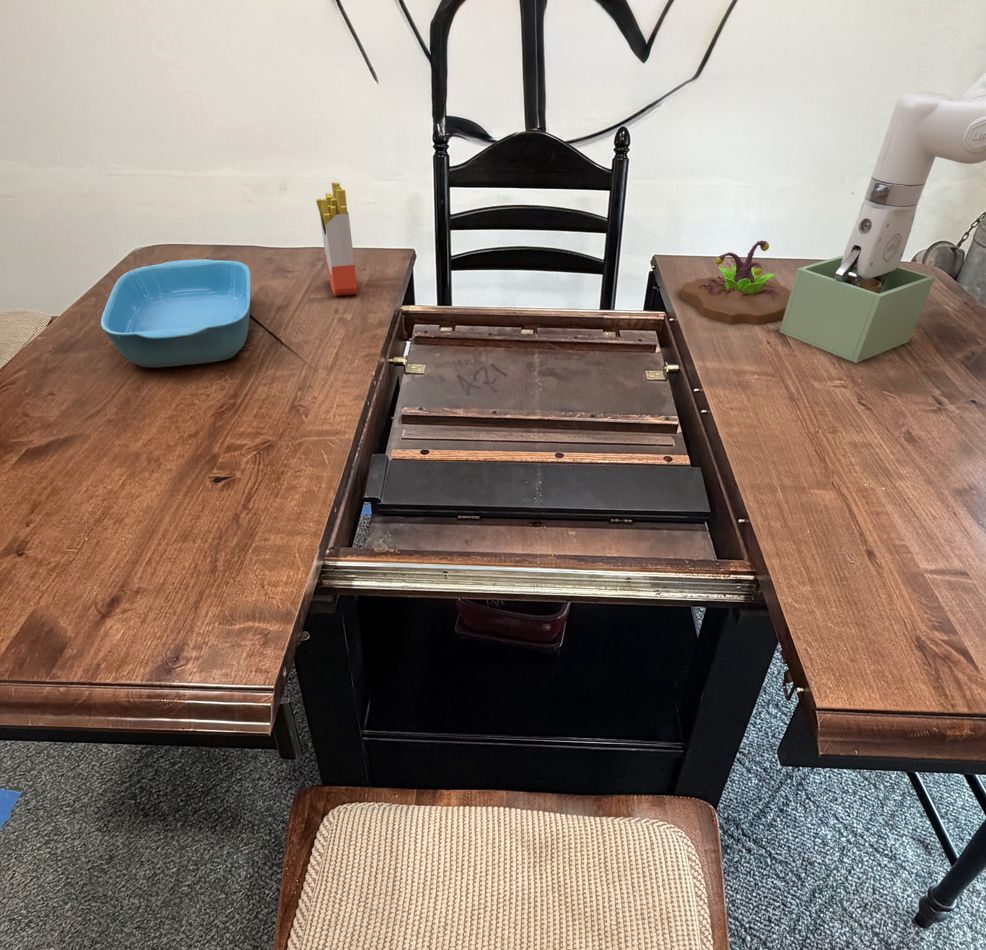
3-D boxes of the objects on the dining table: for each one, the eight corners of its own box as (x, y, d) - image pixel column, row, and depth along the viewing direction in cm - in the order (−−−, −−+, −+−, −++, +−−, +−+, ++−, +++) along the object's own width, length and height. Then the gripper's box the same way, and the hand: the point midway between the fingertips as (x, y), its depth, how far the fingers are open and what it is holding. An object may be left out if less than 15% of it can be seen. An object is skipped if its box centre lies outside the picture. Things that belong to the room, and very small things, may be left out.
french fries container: (334, 303, 132) (319, 194, 120) (327, 283, 139) (312, 179, 127) (359, 300, 133) (346, 193, 121) (350, 281, 140) (338, 178, 128)
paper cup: (872, 326, 120) (889, 283, 115) (851, 334, 117) (867, 290, 112) (841, 314, 123) (856, 272, 119) (820, 322, 121) (834, 279, 116)
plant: (815, 321, 128) (836, 255, 120) (716, 331, 124) (732, 263, 116) (758, 283, 142) (774, 222, 134) (668, 291, 138) (679, 228, 131)
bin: (907, 344, 121) (935, 277, 113) (854, 366, 114) (880, 296, 107) (831, 316, 130) (852, 252, 122) (778, 334, 123) (797, 268, 116)
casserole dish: (134, 300, 132) (120, 259, 127) (257, 291, 136) (249, 251, 131) (106, 388, 106) (88, 341, 101) (260, 373, 110) (250, 328, 105)
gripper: (882, 207, 101) (839, 332, 113) (948, 191, 108) (900, 310, 121) (837, 195, 105) (799, 317, 118) (902, 180, 113) (861, 296, 125)
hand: (851, 312), depth 119 cm, fingers closed on paper cup, 6 cm apart
